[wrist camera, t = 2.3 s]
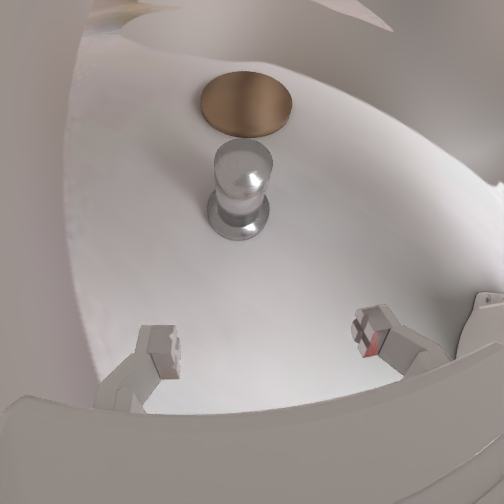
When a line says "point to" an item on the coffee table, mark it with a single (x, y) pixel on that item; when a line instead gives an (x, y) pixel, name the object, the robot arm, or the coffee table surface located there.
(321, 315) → the coffee table surface
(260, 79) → the base disc
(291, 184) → the coffee table surface
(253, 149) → the knob
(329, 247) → the coffee table surface
